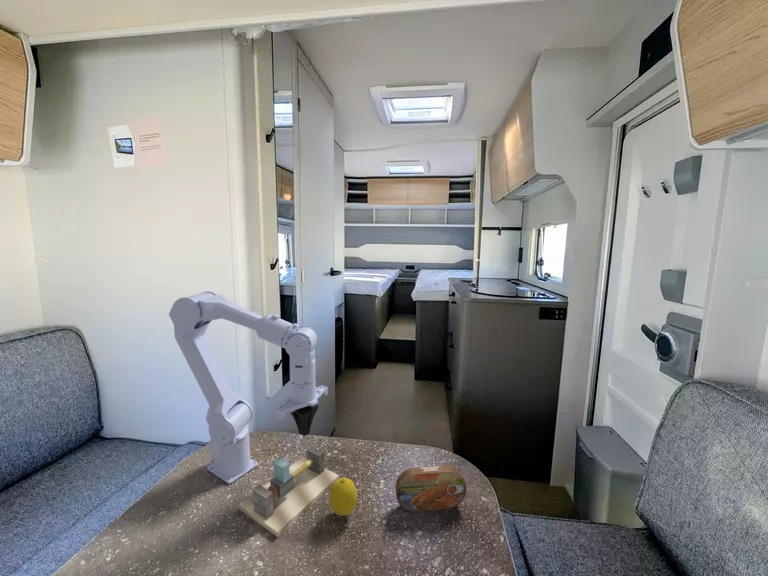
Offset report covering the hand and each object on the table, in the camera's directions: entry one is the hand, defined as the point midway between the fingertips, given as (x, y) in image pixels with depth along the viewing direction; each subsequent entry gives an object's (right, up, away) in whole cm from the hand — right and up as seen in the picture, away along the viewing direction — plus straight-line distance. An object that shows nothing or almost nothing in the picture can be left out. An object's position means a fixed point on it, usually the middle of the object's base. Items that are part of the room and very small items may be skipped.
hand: (304, 433), depth 78 cm
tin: (+29, -12, -7) cm, 32 cm away
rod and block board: (-1, -11, -5) cm, 12 cm away
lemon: (+11, -12, -10) cm, 19 cm away
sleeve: (-3, -9, -8) cm, 12 cm away
